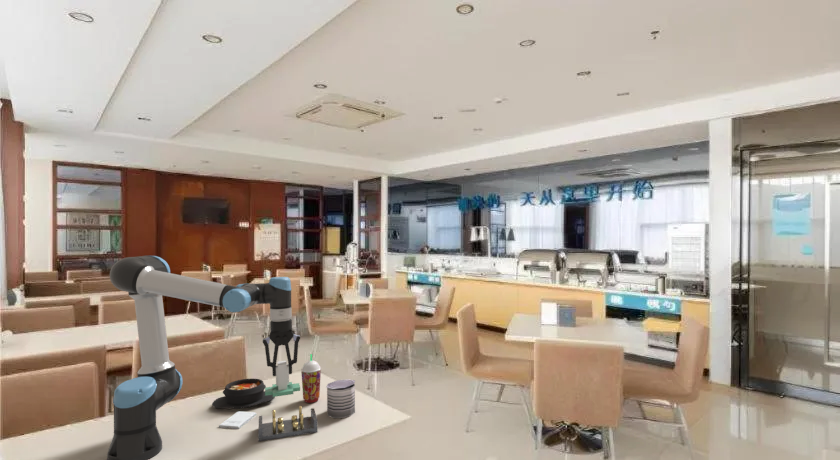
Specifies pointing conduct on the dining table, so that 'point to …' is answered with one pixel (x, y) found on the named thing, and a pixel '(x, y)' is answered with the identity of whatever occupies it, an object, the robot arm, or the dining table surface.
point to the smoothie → (311, 380)
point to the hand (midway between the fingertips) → (282, 383)
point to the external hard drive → (237, 420)
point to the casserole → (243, 394)
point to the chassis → (287, 426)
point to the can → (341, 398)
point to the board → (282, 383)
